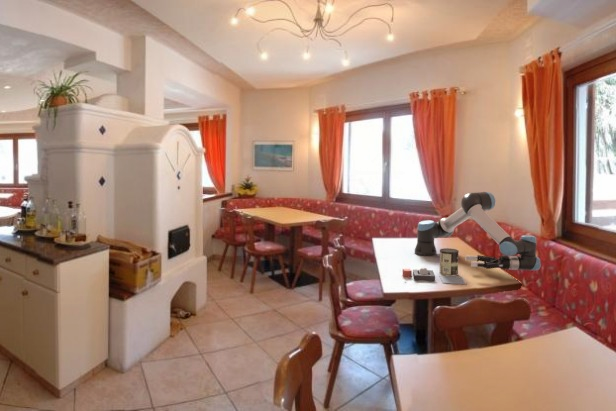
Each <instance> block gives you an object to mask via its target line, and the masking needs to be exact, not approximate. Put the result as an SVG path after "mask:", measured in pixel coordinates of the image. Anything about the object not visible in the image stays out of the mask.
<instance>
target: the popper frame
mask: <svg viewBox="0 0 616 411" xmlns="http://www.w3.org/2000/svg"><path fill="white" fill-rule="evenodd" d="M427 270H428V272H429V275H426V274H419V271H420V269H412V277H413V281H416V282H417V281H419V282H420V281H421V282H436V274H435V272H434V270H430V269H427Z"/></svg>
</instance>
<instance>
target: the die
mask: <svg viewBox="0 0 616 411" xmlns="http://www.w3.org/2000/svg"><path fill="white" fill-rule="evenodd" d="M402 276H403V278H405V279H406V278H412V277H413V269H411V268H402Z"/></svg>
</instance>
